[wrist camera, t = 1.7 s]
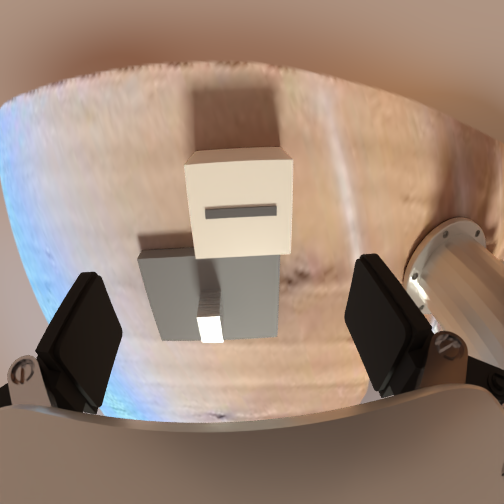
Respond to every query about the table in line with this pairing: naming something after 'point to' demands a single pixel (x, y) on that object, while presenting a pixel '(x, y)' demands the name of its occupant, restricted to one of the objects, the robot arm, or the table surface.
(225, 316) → the plate
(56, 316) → the robot arm
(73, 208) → the table surface
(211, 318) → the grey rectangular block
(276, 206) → the cream coin box
